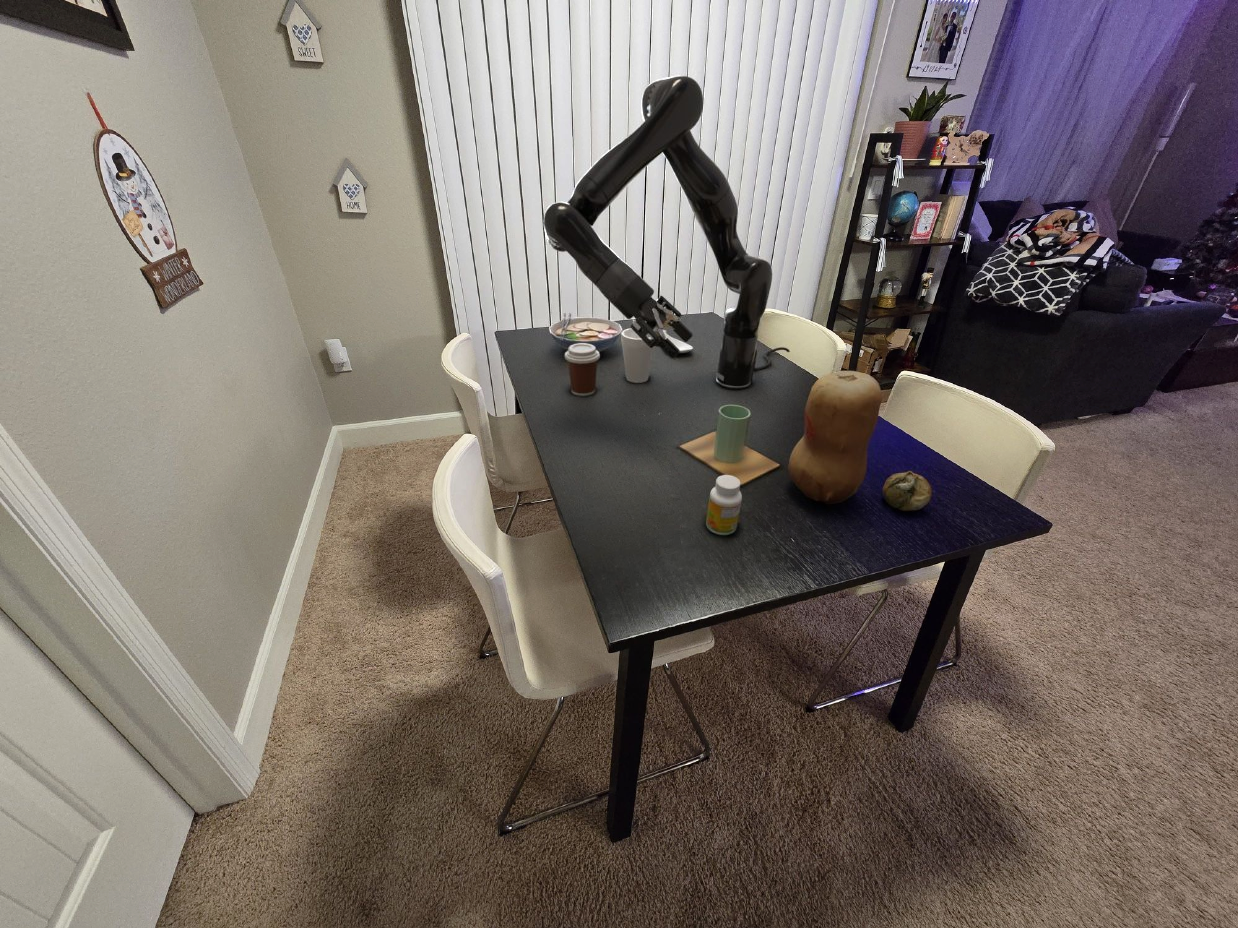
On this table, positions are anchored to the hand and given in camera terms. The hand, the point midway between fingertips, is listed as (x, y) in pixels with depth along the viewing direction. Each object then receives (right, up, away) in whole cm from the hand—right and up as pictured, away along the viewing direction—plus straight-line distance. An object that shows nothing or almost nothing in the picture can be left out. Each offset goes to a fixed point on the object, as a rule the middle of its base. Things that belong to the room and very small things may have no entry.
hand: (683, 346), depth 101 cm
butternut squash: (+26, -30, -4) cm, 40 cm away
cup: (+11, -22, +7) cm, 25 cm away
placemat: (+11, -22, +7) cm, 26 cm away
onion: (+40, -32, -6) cm, 52 cm away
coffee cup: (-23, -4, +35) cm, 41 cm away
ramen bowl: (-23, +12, +59) cm, 65 cm away
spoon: (+2, +18, +68) cm, 70 cm away
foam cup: (-8, +1, +42) cm, 43 cm away
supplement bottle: (+5, -35, -11) cm, 37 cm away
